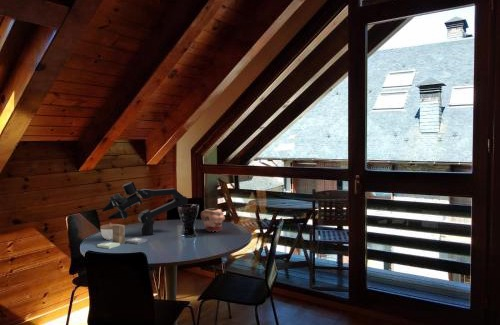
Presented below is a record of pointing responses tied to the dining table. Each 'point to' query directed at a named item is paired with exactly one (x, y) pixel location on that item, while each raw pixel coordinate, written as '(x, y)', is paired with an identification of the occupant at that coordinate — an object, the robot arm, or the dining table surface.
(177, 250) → the dining table surface
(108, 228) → the lidded jar
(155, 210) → the robot arm
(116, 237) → the walnut block
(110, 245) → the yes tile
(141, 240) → the tile
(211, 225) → the decorative planter
